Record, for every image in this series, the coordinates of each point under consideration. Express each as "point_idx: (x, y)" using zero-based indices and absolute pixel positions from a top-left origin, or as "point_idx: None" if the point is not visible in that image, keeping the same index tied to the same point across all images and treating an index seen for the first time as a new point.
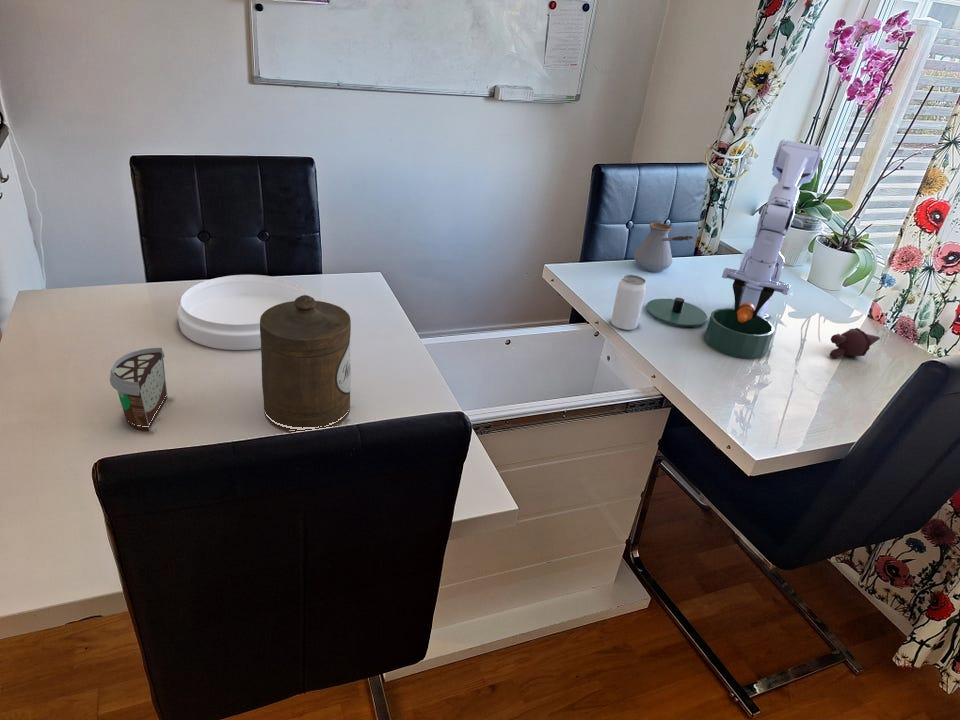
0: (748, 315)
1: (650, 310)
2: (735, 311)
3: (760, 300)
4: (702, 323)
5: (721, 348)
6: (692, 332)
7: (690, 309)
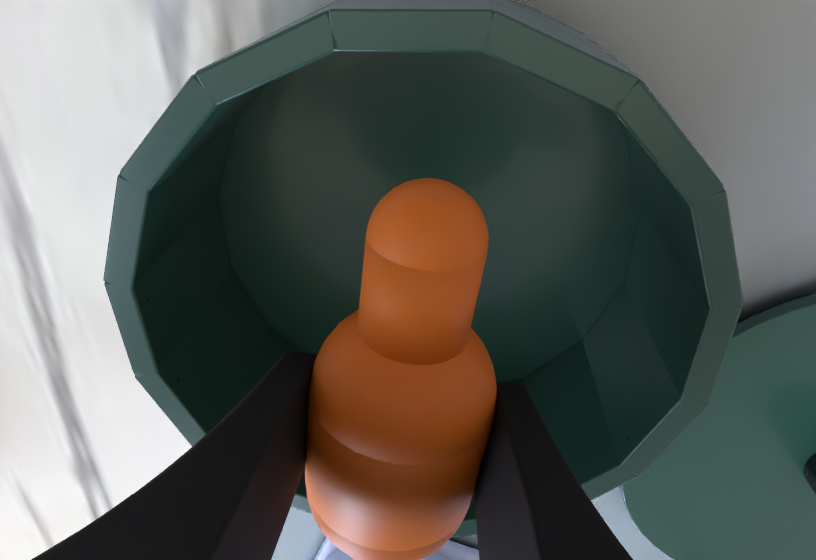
0: (357, 330)
1: None
2: (515, 390)
3: (177, 542)
4: None
5: (540, 14)
6: (741, 255)
7: (726, 518)
